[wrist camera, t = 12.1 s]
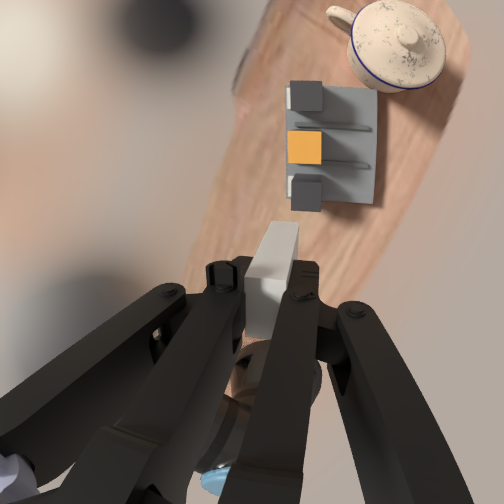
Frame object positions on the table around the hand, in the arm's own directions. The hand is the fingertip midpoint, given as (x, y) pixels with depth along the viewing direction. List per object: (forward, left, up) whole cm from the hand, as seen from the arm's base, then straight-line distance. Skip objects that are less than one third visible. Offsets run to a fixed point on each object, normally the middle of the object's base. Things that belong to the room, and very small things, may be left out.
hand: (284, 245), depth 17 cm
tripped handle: (+4, 0, -19) cm, 19 cm away
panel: (+4, -3, -21) cm, 22 cm away
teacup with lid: (+16, -8, -21) cm, 27 cm away
